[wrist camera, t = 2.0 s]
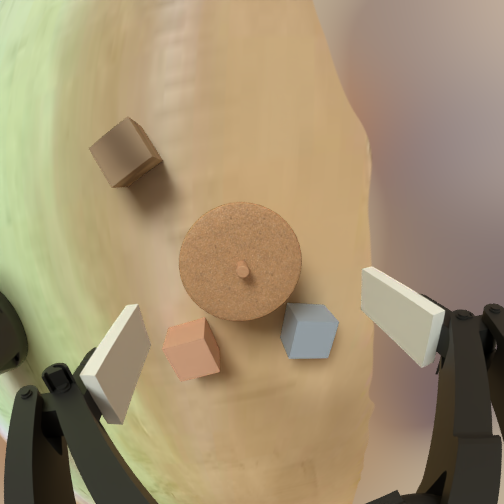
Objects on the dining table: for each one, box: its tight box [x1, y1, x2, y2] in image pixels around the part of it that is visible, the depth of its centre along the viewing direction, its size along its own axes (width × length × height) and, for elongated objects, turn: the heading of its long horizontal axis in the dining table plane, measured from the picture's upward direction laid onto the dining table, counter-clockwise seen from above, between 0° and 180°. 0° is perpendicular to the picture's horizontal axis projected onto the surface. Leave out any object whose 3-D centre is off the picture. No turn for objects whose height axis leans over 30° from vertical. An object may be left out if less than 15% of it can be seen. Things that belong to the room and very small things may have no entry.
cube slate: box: [280, 303, 339, 359], centre depth 32 cm, size 5×5×5 cm
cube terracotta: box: [162, 317, 220, 381], centre depth 31 cm, size 5×5×5 cm
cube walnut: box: [89, 117, 163, 188], centre depth 25 cm, size 5×5×5 cm
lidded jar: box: [179, 202, 302, 321], centre depth 26 cm, size 11×11×9 cm
